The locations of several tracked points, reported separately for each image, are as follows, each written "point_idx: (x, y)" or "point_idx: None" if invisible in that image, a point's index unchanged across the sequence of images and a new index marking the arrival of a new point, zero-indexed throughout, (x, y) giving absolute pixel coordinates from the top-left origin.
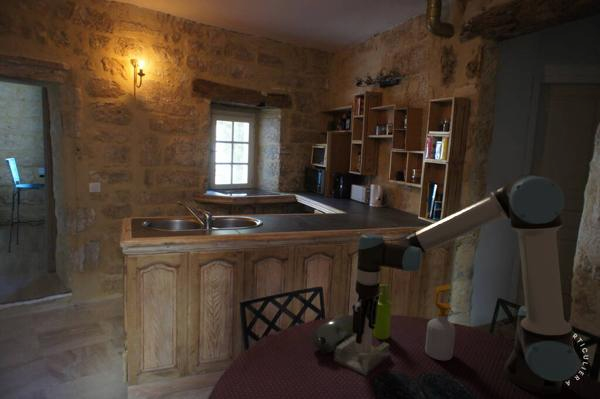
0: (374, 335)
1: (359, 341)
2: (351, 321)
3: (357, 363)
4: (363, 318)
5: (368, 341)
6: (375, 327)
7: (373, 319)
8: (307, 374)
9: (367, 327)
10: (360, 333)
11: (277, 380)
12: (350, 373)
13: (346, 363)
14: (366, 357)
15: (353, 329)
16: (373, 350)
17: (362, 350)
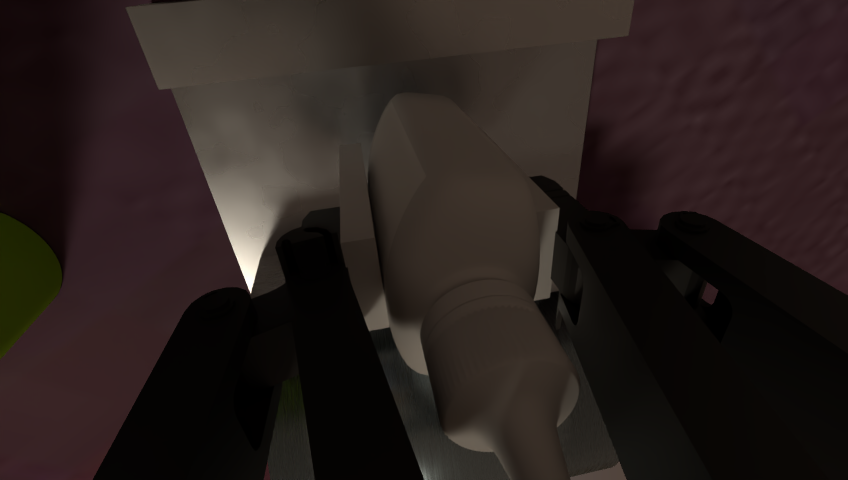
0: (56, 283)
1: (560, 190)
2: (294, 452)
3: (530, 100)
4: (770, 427)
5: (478, 132)
6: (7, 332)
7: (236, 368)
8: (749, 221)
9: (483, 266)
10: (687, 217)
11: (841, 261)
12: (624, 71)
13: (579, 151)
14: (590, 20)
15: (718, 314)
16: (420, 55)
17: (487, 136)
